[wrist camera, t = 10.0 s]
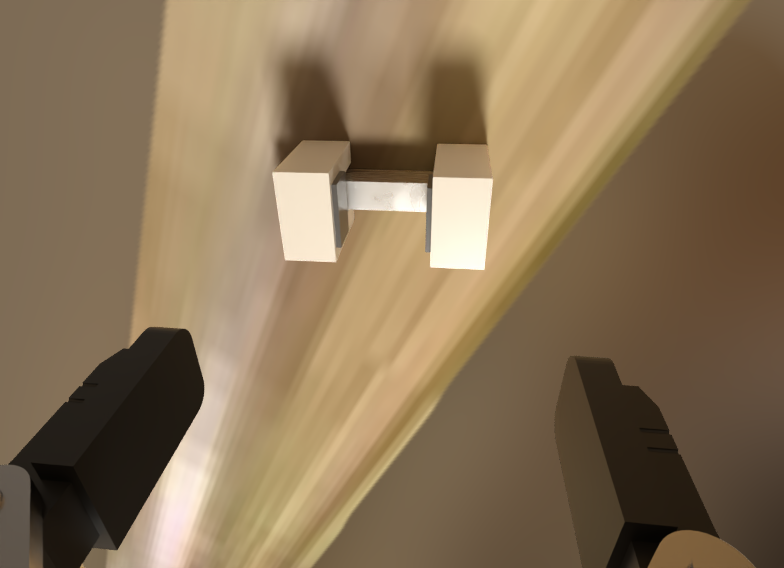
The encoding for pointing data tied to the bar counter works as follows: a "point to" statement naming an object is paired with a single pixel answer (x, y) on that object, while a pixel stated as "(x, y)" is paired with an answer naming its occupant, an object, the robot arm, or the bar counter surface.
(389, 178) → the rail
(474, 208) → the block
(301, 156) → the cream rectangular block
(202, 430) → the bar counter surface
